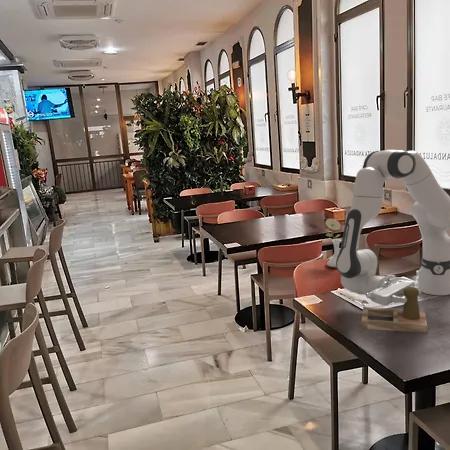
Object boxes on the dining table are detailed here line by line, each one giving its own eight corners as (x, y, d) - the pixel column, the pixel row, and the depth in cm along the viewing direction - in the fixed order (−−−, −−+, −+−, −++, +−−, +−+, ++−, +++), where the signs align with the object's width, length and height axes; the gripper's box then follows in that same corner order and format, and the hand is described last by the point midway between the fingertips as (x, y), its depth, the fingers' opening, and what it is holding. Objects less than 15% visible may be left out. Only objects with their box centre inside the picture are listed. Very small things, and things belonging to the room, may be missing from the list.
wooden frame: (363, 312, 178) (363, 306, 177) (424, 316, 171) (424, 309, 170) (361, 328, 165) (361, 321, 165) (427, 332, 158) (427, 325, 157)
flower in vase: (353, 265, 234) (351, 218, 228) (337, 270, 228) (335, 222, 223) (334, 260, 245) (333, 215, 239) (319, 265, 239) (317, 219, 234)
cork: (415, 312, 168) (415, 284, 166) (423, 319, 163) (423, 290, 160) (399, 313, 168) (399, 285, 166) (406, 320, 162) (406, 291, 160)
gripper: (362, 287, 167) (397, 297, 156) (393, 273, 179) (427, 280, 168) (363, 303, 168) (397, 314, 157) (394, 288, 180) (427, 296, 170)
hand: (413, 296), depth 163 cm, fingers open, 8 cm apart
